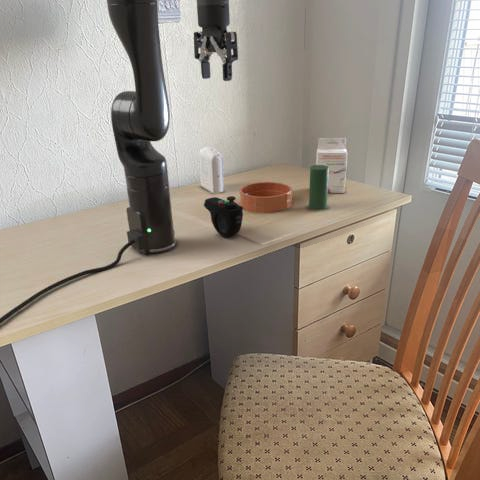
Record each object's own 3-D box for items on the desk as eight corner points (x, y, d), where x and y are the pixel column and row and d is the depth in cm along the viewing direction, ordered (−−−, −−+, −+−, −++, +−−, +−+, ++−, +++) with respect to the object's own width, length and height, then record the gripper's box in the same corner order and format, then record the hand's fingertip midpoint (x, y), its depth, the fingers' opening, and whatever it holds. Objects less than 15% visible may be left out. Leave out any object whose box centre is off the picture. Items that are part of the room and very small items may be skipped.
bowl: (264, 217, 135) (264, 200, 132) (229, 205, 144) (229, 189, 142) (302, 205, 142) (302, 188, 140) (267, 194, 152) (267, 179, 150)
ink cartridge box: (315, 193, 151) (317, 141, 143) (314, 188, 155) (316, 137, 148) (344, 193, 150) (348, 141, 142) (343, 188, 154) (347, 137, 147)
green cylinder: (318, 212, 137) (320, 170, 131) (305, 208, 140) (306, 167, 134) (330, 208, 139) (332, 167, 134) (317, 204, 143) (318, 163, 137)
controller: (232, 244, 120) (230, 202, 115) (203, 229, 129) (200, 190, 123) (247, 239, 122) (245, 198, 117) (217, 225, 131) (215, 186, 126)
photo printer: (226, 192, 155) (224, 150, 149) (213, 194, 153) (210, 152, 147) (211, 184, 163) (209, 143, 156) (199, 186, 161) (196, 145, 155)
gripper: (182, 4, 123) (187, 79, 131) (219, 2, 113) (222, 83, 122) (207, 4, 127) (211, 76, 135) (245, 1, 117) (246, 79, 126)
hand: (216, 79), depth 128 cm, fingers open, 8 cm apart
